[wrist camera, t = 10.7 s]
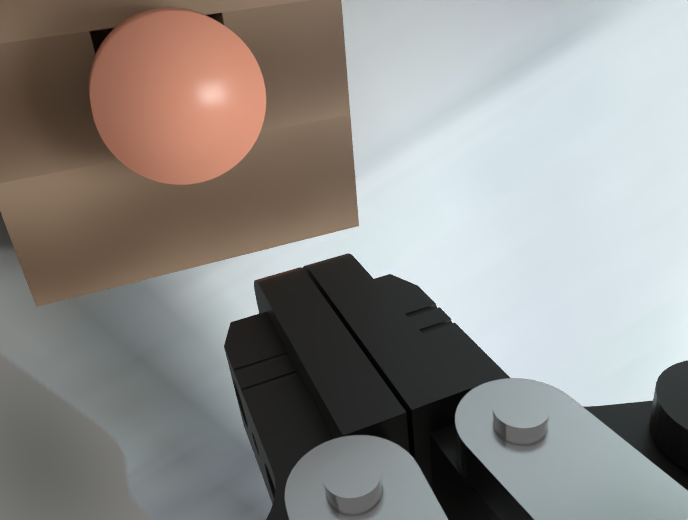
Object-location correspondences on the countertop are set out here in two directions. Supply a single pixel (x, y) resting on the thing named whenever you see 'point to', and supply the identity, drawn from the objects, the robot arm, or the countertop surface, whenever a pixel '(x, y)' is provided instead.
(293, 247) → the countertop surface
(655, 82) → the countertop surface
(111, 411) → the countertop surface
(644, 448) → the robot arm
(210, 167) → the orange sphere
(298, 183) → the button panel
